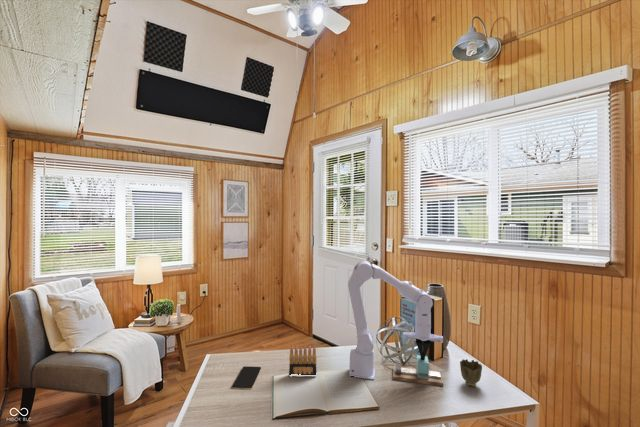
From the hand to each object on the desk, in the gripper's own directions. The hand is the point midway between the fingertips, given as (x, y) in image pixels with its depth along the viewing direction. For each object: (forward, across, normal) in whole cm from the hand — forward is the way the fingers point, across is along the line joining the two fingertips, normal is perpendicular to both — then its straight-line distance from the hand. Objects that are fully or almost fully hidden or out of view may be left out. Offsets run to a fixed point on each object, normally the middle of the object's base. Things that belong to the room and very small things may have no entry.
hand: (422, 358), depth 121 cm
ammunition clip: (+7, -45, -11) cm, 47 cm away
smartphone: (+8, -65, -18) cm, 68 cm away
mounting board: (+7, -2, 0) cm, 7 cm away
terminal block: (+6, 0, 0) cm, 6 cm away
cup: (+8, +17, -1) cm, 19 cm away
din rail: (+6, -2, 0) cm, 6 cm away
